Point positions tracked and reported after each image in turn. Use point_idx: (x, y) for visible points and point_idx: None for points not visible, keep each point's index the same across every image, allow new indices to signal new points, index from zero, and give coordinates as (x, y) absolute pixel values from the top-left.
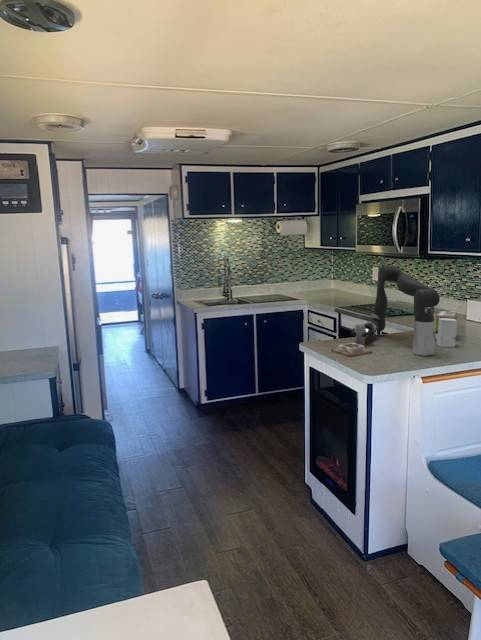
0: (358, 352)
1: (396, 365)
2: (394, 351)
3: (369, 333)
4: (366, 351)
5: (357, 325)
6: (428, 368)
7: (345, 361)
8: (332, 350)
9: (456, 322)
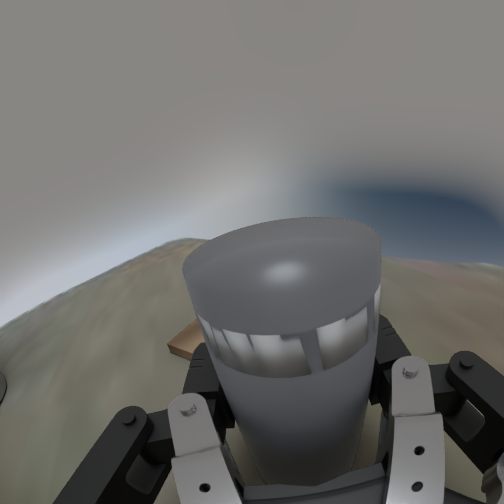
0: None
1: (108, 287)
2: (55, 413)
3: (156, 418)
4: (198, 328)
5: (306, 220)
6: (49, 299)
7: None
8: None
9: None
